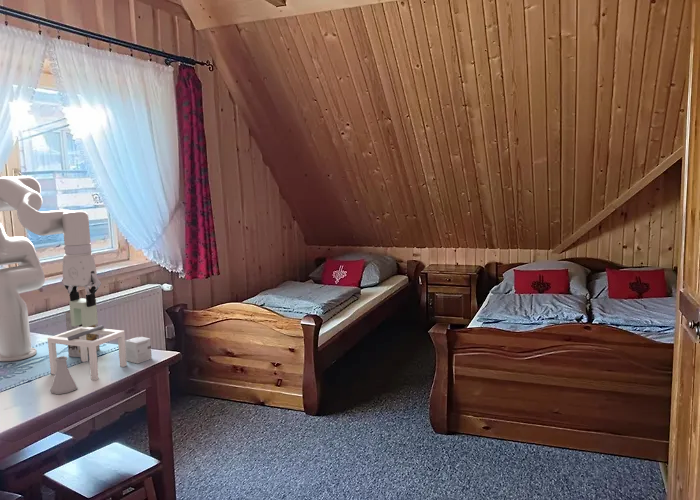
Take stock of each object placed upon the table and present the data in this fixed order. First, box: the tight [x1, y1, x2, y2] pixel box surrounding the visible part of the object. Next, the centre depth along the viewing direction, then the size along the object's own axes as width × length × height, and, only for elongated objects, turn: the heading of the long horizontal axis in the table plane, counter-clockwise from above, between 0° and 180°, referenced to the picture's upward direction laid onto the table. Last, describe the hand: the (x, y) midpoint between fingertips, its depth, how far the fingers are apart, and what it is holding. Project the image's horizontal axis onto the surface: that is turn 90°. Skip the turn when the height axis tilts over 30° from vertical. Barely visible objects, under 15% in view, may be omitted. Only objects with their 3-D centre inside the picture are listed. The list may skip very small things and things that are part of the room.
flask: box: [50, 355, 78, 395], centre depth 167 cm, size 7×7×10 cm
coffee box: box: [64, 310, 101, 358], centre depth 200 cm, size 9×6×16 cm
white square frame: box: [47, 324, 128, 381], centre depth 183 cm, size 18×14×13 cm
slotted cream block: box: [68, 297, 99, 327], centre depth 181 cm, size 6×5×8 cm
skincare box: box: [125, 336, 153, 364], centre depth 193 cm, size 6×6×7 cm
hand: (83, 304), depth 181 cm, fingers closed on slotted cream block, 5 cm apart
